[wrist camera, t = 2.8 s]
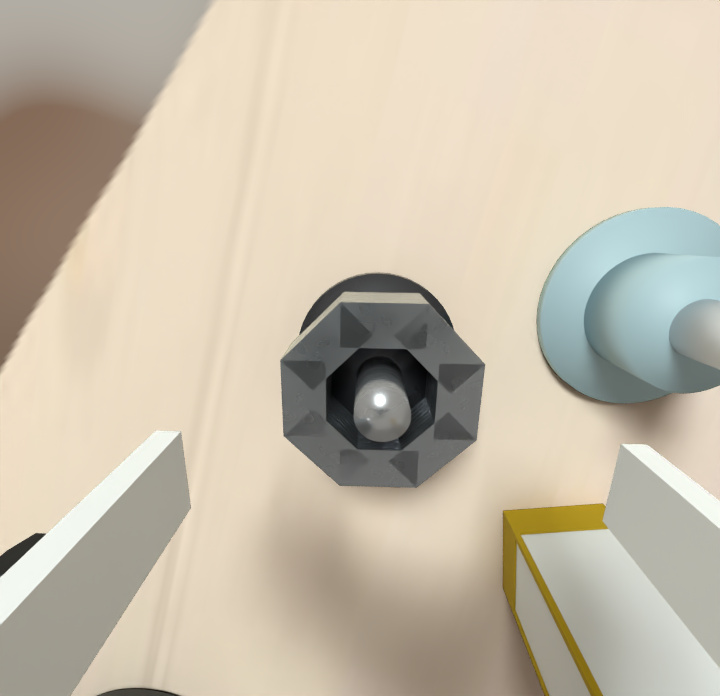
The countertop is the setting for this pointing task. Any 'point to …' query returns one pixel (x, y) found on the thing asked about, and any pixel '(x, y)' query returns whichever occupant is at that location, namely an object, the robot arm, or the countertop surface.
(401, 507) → the countertop surface
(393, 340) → the grey octagonal ring
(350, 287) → the stand
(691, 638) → the soap bottle
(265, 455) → the countertop surface
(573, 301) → the peg
